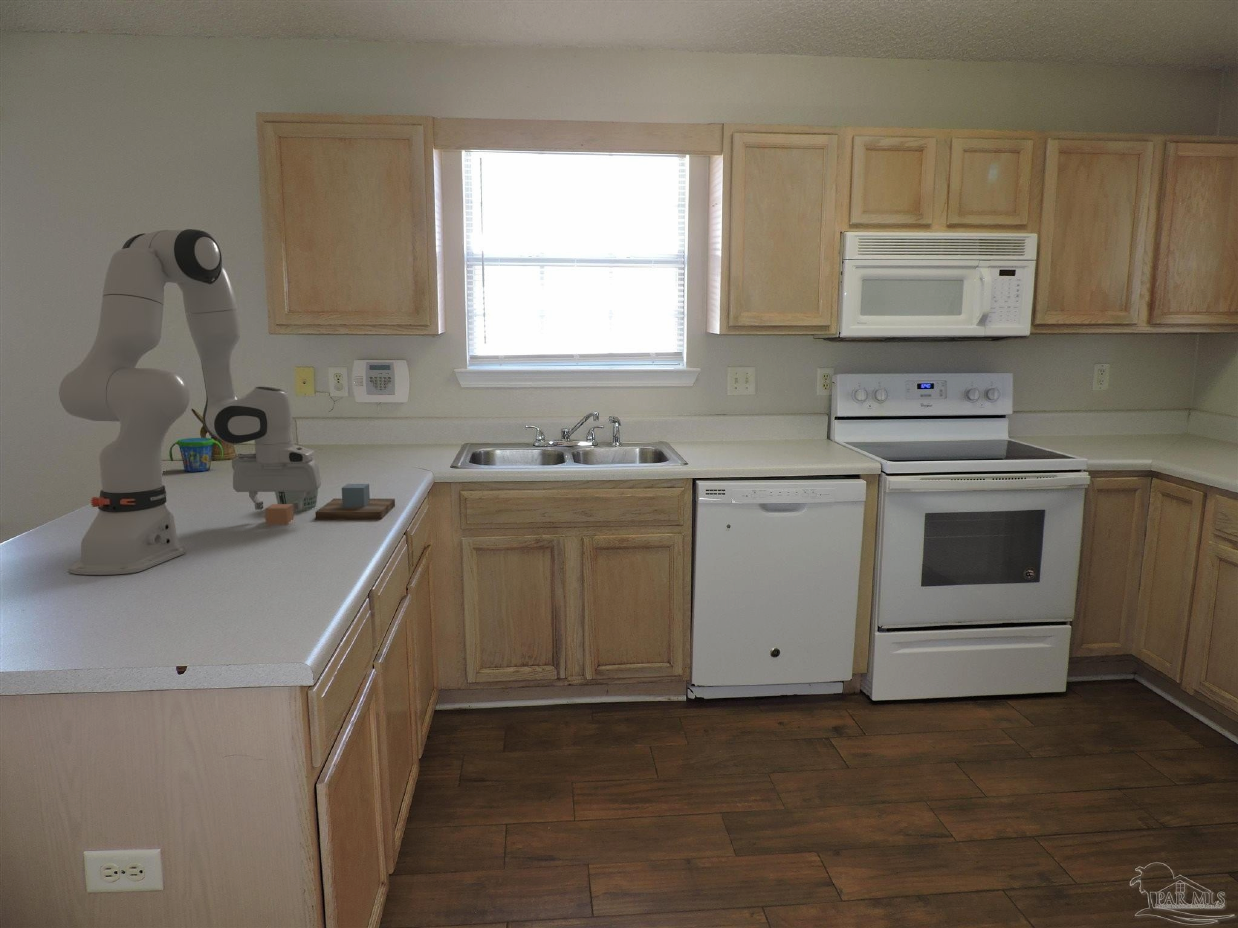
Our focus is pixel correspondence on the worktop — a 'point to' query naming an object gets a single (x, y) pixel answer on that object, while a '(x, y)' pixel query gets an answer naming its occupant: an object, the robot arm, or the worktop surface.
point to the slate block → (355, 495)
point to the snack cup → (196, 453)
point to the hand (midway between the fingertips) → (278, 509)
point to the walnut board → (355, 510)
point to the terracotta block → (279, 513)
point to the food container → (292, 497)
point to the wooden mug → (216, 452)
